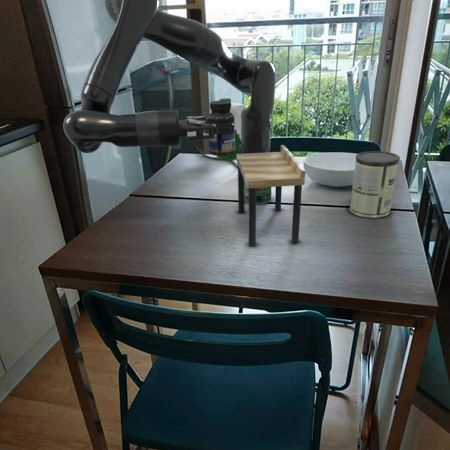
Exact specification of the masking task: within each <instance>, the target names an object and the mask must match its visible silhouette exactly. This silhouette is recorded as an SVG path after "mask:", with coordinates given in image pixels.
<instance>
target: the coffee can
mask: <svg viewBox="0 0 450 450" xmlns="http://www.w3.org/2000/svg"><path fill="white" fill-rule="evenodd" d="M356 154H357V155H356V163H355V172H354V180H353V185H352V189H351V196H350V197H351V198H350V206H349V212H350V213H351V214H353V215H356V216H358V217H362V218H368V219H369V218H370V219H372V218H373V219H376V218H378V219H379V218H383V217H387V216H389V214H390V213H391V207H392V201H393V196H394V189H395V184H396V178H397V173H398V167H399V162H400V159H401V157H400V155H399V154H396V153H394V152H389V151H384V150H383V151H382V150H367V151H362V152H358V153H356Z"/></svg>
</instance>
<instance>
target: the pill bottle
mask: <svg viewBox="0 0 450 450" xmlns="http://www.w3.org/2000/svg"><path fill="white" fill-rule="evenodd" d="M231 103H232V101H231V102H230V101H220V100H213V101H210V102H209V109H210V113H209V114H207V116H208V118H207V119H208V123H210V124H213V123H215V124H226V123H232V124H233V125H234V133H233V134H229V135H217V136H215V138H213V139H208V152H209V154H210V155H212V156H216V157H217V156H226V155H231V154H233V153H234V152H235V119H234V118H235V117H234V115H233V113H231V112H230V109H231ZM208 133H209V129H208Z"/></svg>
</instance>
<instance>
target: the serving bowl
mask: <svg viewBox="0 0 450 450" xmlns="http://www.w3.org/2000/svg"><path fill="white" fill-rule="evenodd" d="M357 154H358V153H354V152H344V151H343V152H342V151H341V152H339V151H335V152H334V151H333V152H319V153H314V154H311V155H308V156H306V157H305V158H304V159H303V168H304V170H305V175H306V176H307V178H309V179H310V180H311V181H313V182H314V183H317V184H320V185H323V186H326V187H330V188H331V187H332V188H344V187H349V186H353V180H354V172H355V163H356V155H357Z"/></svg>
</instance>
